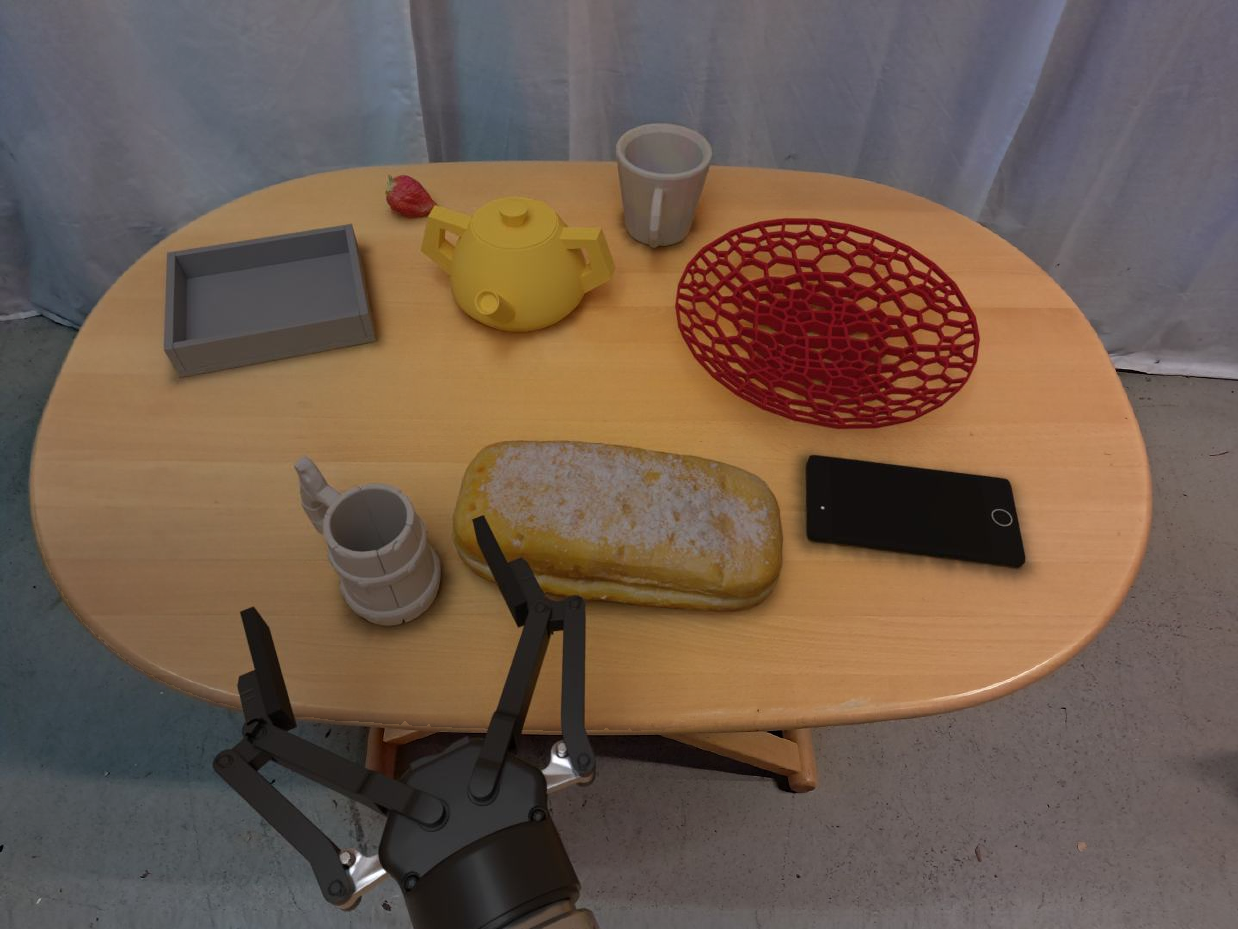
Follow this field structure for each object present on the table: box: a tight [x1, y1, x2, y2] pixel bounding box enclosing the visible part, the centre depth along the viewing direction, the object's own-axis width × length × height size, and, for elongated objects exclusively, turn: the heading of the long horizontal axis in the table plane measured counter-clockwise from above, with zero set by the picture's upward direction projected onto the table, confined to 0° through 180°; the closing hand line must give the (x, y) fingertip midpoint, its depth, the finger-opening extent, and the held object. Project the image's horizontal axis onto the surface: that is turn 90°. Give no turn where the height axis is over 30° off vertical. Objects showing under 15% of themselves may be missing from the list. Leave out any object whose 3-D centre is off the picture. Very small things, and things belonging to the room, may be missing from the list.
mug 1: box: [293, 454, 442, 627], centre depth 60 cm, size 8×12×12 cm, turn 55°
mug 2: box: [615, 122, 714, 249], centre depth 88 cm, size 10×15×10 cm
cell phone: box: [805, 454, 1026, 569], centre depth 70 cm, size 9×18×1 cm, turn 82°
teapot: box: [420, 196, 616, 333], centre depth 80 cm, size 20×18×11 cm
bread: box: [451, 439, 784, 612], centre depth 64 cm, size 13×26×8 cm, turn 87°
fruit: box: [384, 173, 438, 218], centre depth 92 cm, size 4×6×5 cm
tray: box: [163, 223, 377, 378], centre depth 81 cm, size 19×15×4 cm
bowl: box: [674, 217, 981, 430], centre depth 80 cm, size 29×30×5 cm
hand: (372, 571), depth 47 cm, fingers open, 13 cm apart
